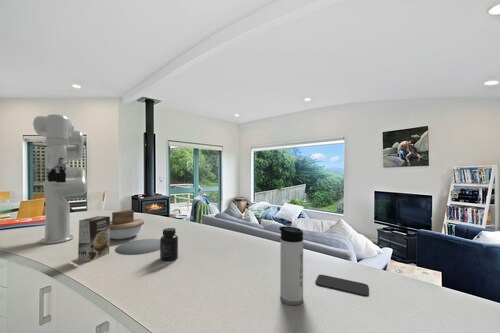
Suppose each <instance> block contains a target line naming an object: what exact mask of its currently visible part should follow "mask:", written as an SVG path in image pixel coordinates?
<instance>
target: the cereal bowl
mask: <svg viewBox="0 0 500 333" xmlns="http://www.w3.org/2000/svg"><path fill="white" fill-rule="evenodd" d="M141 229H142V225H141V226H138V227H133V228H128V229H119V230H110V239H112V240H113V239H114V240H126V239H130V238H132V237H135V236H137V235H138V234H139V233H140V231H141Z"/></svg>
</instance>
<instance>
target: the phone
mask: <svg viewBox="0 0 500 333" xmlns="http://www.w3.org/2000/svg"><path fill="white" fill-rule="evenodd" d="M314 283H315V285H316V286H317V287H322V288H327V289H330V290H331V289H332V290H336V291H340V292H343V293H348V294H353V295H358V296H362V297H368V296H369V285H368V284H367V283H363V282H359V281H354V280H349V279H345V278H340V277H335V276H331V275H326V274H318V276H316V279H315V282H314Z"/></svg>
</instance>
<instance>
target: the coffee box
mask: <svg viewBox="0 0 500 333" xmlns="http://www.w3.org/2000/svg"><path fill="white" fill-rule="evenodd" d="M110 221H111V216H108V215H107V216H106V215H105V216H104V215H103V216H101V215H100V216H99V215H97V216H92V217H89V218H84V219H80V220H79V221H78V248H77V251H78V252H77V260H78V261H83V262H92V261H96V260H98V259H99V258H103V257H105V256H106V255H109V254H110V242H111V241H110V239H111V238H110Z"/></svg>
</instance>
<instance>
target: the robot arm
mask: <svg viewBox="0 0 500 333" xmlns="http://www.w3.org/2000/svg"><path fill="white" fill-rule="evenodd" d="M32 125H33V129H34V131H35V133H36V134H37V135H38V136H41V137H42V138H45V146H46V149H45V151H44V158H45V168H46V169H48V171H47V179H45V181H44V182H43V193H44V201H45V203H44V204H45V206H44V207H45V211H44V212H45V213H44V214H45V216H44V220H45V223H44V238H42V239H41V240H40V243H41V244H43V245H52V244H54V245H55V244H59V243H64V242H68V241H70V240H73V239H74V235H73V234H70V231H71V230H70V229H71V228H70V224H71V223H70V222H71V220H70V219H71V205H70V202H69V201H68V200H67V199H66V198H65V197H70V196H71V197H72V196H73V197H75V196H83V195H84V194H86V193H87V191H88V179H87V172H86V170H85V169H84V168H83V167H74V166H70V165H69V164H68V161H81V160H82V159H83V157H84V147H85V146H84V144H85V143H84V142H85V138H84V135H83V132H81V131H80V130H75V124H74V123H73V121H72V120H71V119H69V117H67V116H65V115H63V114H62V115H61V114H55V113H53V114H47V116H43V115H39V116H36V117H34V119H33V122H32Z"/></svg>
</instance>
